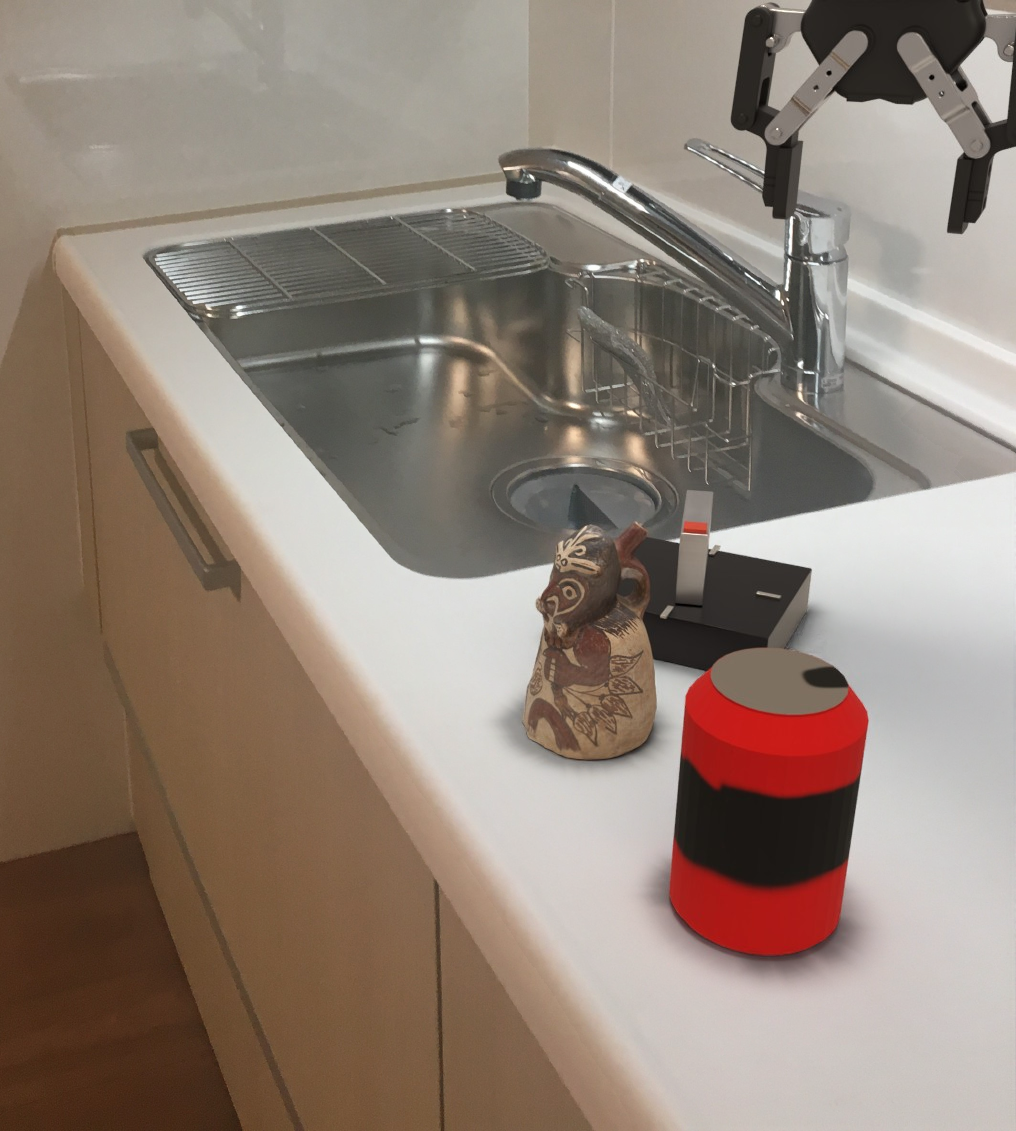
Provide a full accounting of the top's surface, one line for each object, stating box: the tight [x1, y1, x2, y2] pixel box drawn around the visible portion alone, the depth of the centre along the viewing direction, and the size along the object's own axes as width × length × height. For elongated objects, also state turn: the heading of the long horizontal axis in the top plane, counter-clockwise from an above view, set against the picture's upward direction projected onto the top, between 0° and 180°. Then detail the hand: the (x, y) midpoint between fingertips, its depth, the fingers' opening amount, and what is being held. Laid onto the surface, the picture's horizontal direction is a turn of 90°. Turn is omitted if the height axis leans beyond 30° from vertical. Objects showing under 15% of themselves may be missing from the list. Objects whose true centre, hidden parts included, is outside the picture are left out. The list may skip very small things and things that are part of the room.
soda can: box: [668, 648, 870, 957], centre depth 68 cm, size 8×8×12 cm
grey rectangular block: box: [675, 489, 714, 606], centre depth 93 cm, size 6×2×5 cm, turn 164°
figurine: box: [521, 521, 658, 760], centre depth 83 cm, size 7×7×12 cm
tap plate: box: [616, 536, 813, 671], centre depth 95 cm, size 12×11×3 cm
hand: (867, 223), depth 79 cm, fingers open, 8 cm apart
